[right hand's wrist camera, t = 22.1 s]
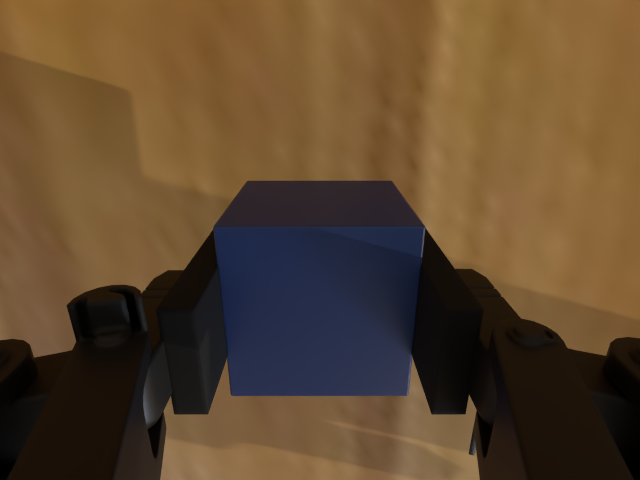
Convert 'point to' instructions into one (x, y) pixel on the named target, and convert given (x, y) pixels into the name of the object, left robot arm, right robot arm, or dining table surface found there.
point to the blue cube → (319, 288)
